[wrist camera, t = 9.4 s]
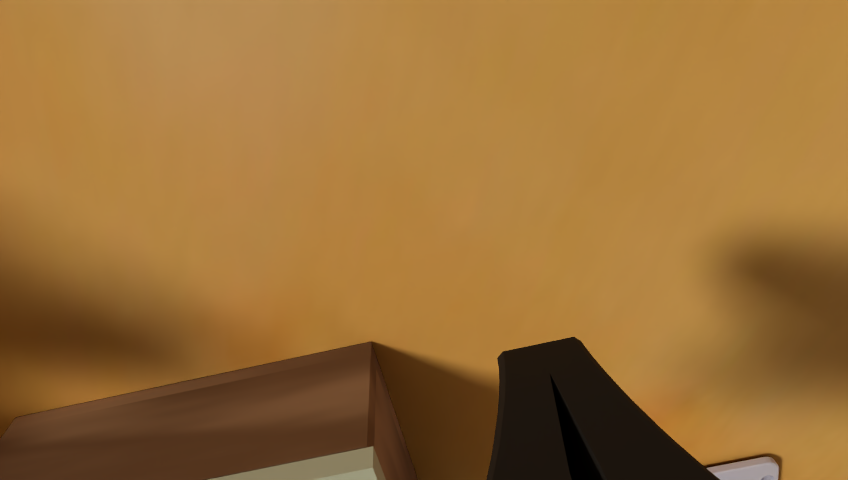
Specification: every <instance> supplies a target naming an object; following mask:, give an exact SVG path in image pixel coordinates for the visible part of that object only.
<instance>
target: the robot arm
mask: <svg viewBox="0 0 848 480" xmlns="http://www.w3.org/2000/svg"><path fill="white" fill-rule="evenodd" d="M497 359H498V365H499V379H500V386H499V404H498V416H497V423H496V430H495V437H494V444H493V451H492V456H491V461H490V466H489V471H488V475H487V480H778V475H779V466H778V464H777V463H776V461H775V460H774V459H773V458H771V457H761V458H755V459H750V460H745V461H740V462H735V463H729V464H724V465H719V466H714V467H709V468H705V467H704V466H703V465H702V464H701V463H699V462H698V461H697V460H696V459H695V458H694V457H692V456H691V455H690V454H689V453H688V452H687V451H686V450H684V449H683V448H682V447H681V446H680V445H679V444H677V443H676V442H675V441H674V440H673V439H672V438H671V437H670V436H669V435H668V434H666V433H665V432H664V431H663V430H662V429H661V428H660V427H659V426H658V425H657V424H656V423H655V422H654V421H653V420H652V419H651V418H650V417H649V416H648V415H647V414H646V413H645V412H644V411H643V410H641V409H640V408H639V407H638V406H637V405H636V404H635V403H634V402H633V401H632V400H631V399H630V398H629V397H628V396H627V394H626V393H625V392H624V391H623V390H622V389H621V388H620V387H619V386H618V385H617V384H616V383H615V382H614V381H613V379H612V378H611V377H610V376H609V375H608V374H607V373H606V372H605V371H604V369H603V368H602V367H601V366H600V365H599V364H598V362H597V361H596V360H595V359H594V358H593V356H592V355H591V354H590V353H589V351H588V350H587V349H586V348H585V346H584V345H583V343H582V342H581V341H580V340H578V339H576V338H575V337H571V338H566V339H561V340H556V341H552V342H547V343H542V344H537V345H532V346H528V347H523V348H518V349H513V350H508V351H504V352H502V353H501V355H500V356H499V357H498V358H497Z"/></svg>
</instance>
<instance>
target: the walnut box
mask: <svg viewBox="0 0 848 480" xmlns="http://www.w3.org/2000/svg"><path fill="white" fill-rule="evenodd" d="M372 446H373V447H374V449H375V452H376V455H377V457H378V460H379V463H380V465H381V468H382V471H383V473H384V476H385V479H386V480H418V479H417V476H416V473H415V470H414V467H413V464H412V461H411V458H410V455H409V452H408V449H407V446H406V443H405V440H404V438H403V435H402V432H401V429H400V426H399V423H398V420H397V417H396V414H395V411H394V408H393V405H392V402H391V399H390V396H389V393H388V390H387V387H386V384H385V381H384V378H383V375H382V373H381V370H380V367H379V364H378V361H377V358H376V355H375V352H374V349H373V346H372V343H371V342H368V343H363V344H358V345H354V346H349V347H344V348H340V349H335V350H330V351H325V352H321V353H316V354H311V355H307V356H302V357H297V358H293V359H288V360H283V361H279V362H274V363H269V364H264V365H260V366H255V367H250V368H246V369H241V370H236V371H232V372H227V373H222V374H217V375H213V376H208V377H203V378H199V379H194V380H189V381H185V382H180V383H175V384H171V385H166V386H161V387H156V388H152V389H147V390H142V391H138V392H133V393H128V394H124V395H119V396H114V397H109V398H105V399H100V400H95V401H91V402H86V403H81V404H77V405H72V406H67V407H63V408H58V409H53V410H48V411H44V412H39V413H34V414H30V415H25V416H20V417H16V418H15V419H14V420H13V422H12V423H11V425H10V426H9V427H8V429H7V430H6V432H5V433H4V435H3V436H2V437H1V439H0V480H208V479H213V478H218V477H223V476H228V475H233V474H238V473H243V472H248V471H253V470H258V469H263V468H268V467H273V466H278V465H283V464H288V463H292V462H297V461H302V460H307V459H312V458H317V457H322V456H327V455H332V454H337V453H342V452H347V451H352V450H357V449H362V448H367V447H372Z"/></svg>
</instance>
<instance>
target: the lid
mask: <svg viewBox="0 0 848 480" xmlns="http://www.w3.org/2000/svg"><path fill="white" fill-rule="evenodd" d="M208 480H386V479H385V476H384V473H383V471H382V468H381V465H380V463H379V460H378V457H377V455H376V452H375V449H374V447H373V446H372V447H367V448H362V449H357V450H352V451H347V452H342V453H337V454H332V455H327V456H322V457H317V458H312V459H307V460H302V461H297V462H292V463H288V464H283V465H278V466H273V467H268V468H263V469H258V470H253V471H248V472H243V473H238V474H233V475H228V476H223V477H218V478H213V479H208Z"/></svg>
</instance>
